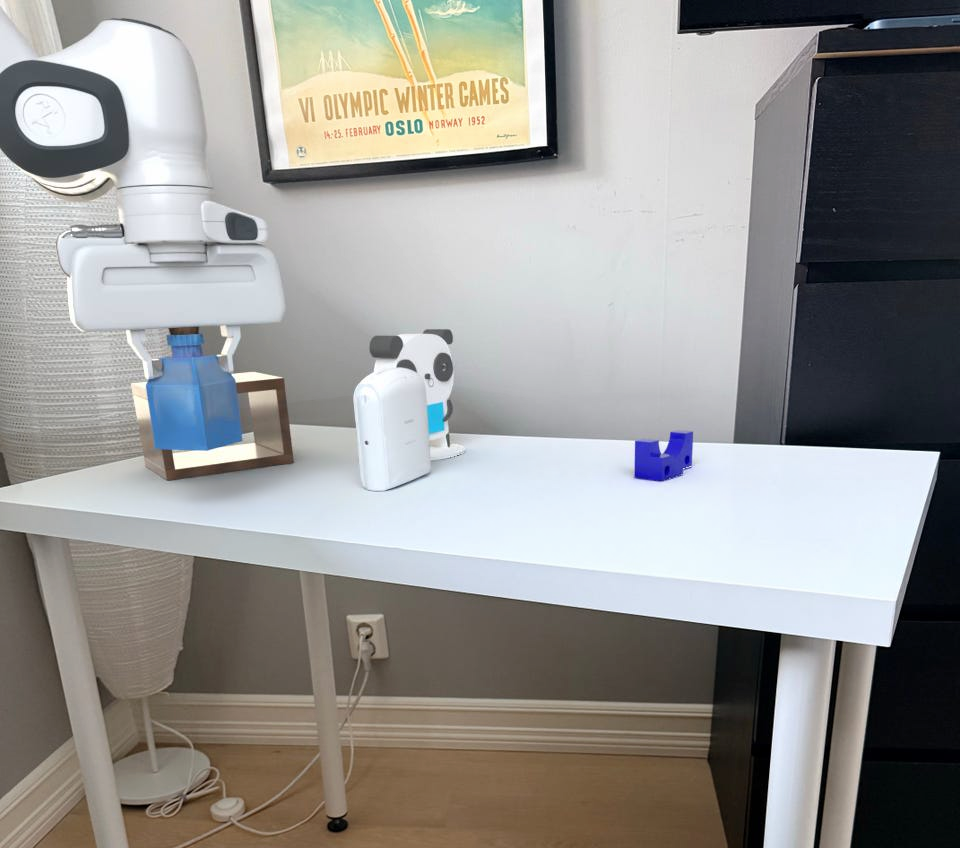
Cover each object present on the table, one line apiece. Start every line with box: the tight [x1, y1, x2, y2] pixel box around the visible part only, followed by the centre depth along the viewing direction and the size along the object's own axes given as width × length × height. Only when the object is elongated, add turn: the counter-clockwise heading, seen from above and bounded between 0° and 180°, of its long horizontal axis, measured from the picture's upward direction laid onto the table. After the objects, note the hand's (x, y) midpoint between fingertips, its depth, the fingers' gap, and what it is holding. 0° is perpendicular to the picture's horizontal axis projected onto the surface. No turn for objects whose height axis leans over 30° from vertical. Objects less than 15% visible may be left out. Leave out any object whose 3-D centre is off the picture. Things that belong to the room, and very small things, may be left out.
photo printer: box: [352, 367, 432, 492], centre depth 102 cm, size 10×4×12 cm, turn 153°
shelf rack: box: [130, 371, 295, 482], centre depth 117 cm, size 16×12×10 cm
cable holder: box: [634, 429, 694, 482], centre depth 101 cm, size 8×4×4 cm, turn 135°
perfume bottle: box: [146, 327, 244, 451], centre depth 93 cm, size 6×6×12 cm
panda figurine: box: [368, 328, 466, 461], centre depth 117 cm, size 12×11×15 cm
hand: (190, 376), depth 93 cm, fingers closed on perfume bottle, 5 cm apart
